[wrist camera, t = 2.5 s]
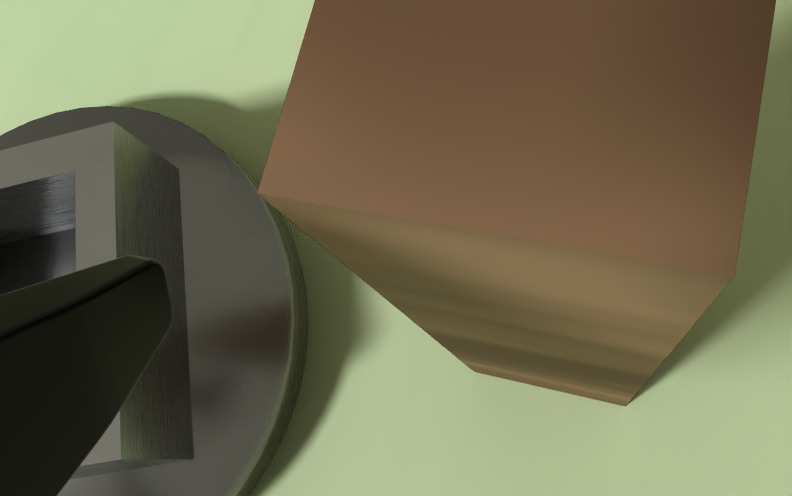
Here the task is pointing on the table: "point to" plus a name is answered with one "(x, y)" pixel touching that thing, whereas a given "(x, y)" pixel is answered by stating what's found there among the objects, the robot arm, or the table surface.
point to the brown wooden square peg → (529, 171)
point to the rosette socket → (187, 283)
